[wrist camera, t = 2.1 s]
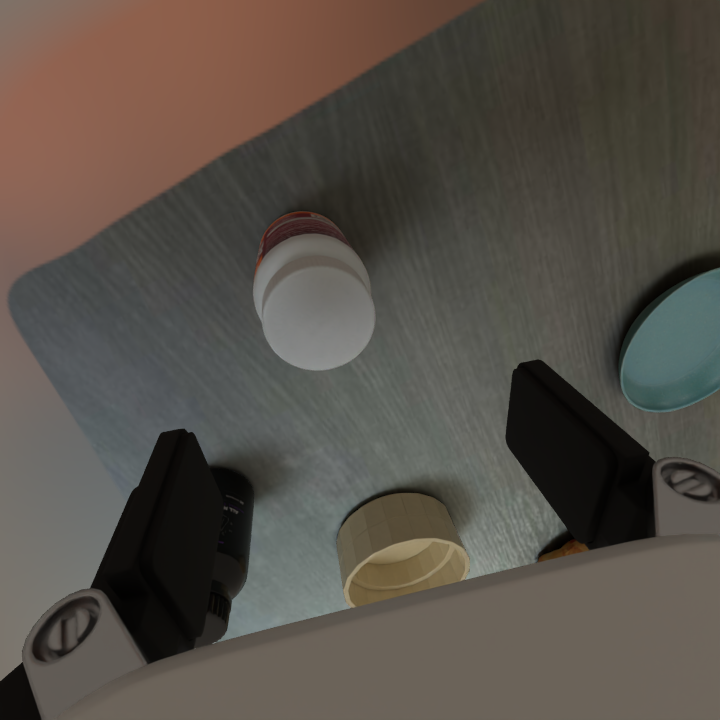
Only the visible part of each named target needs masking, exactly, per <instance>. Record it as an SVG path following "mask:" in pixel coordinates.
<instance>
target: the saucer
mask: <svg viewBox="0 0 720 720" xmlns="http://www.w3.org/2000/svg"><path fill="white" fill-rule="evenodd" d="M618 372H619V381H620V385H621V389H622V392H623V394H624V396H625V398H626V399H627V400H628V402H629V403H630V404H632V405H633V406H634V407H636V408H638V409H640V410H643V411H647V412H669V411H674V410H677V409H681V408H684V407H687V406H689V405H692V404H694V403H696V402H698V401H700V400H702V399H704V398H706V397H708V396H709V395H711V394H712V393H714V392H716V391H717V390H719V389H720V268H716V269H712V270H709V271H705V272H702V273H700V274H697V275H695V276H693V277H690V278H688V279H686V280H684V281H682V282H680V283H678V284H676V285H675V286H673V287H672V288H670V289H668V290H667V291H665V292H664V293H662V294H661V295H660V296H658V297H657V298H656V299H655V300H653V301H652V302H651V303H650V304H649V305H648V306H647V307H646V308H645V309H644V310H643V311H642V312H641V313H640V314H639V316H638V317H637V318H636V320H635V321H634V322H633V324H632V325H631V327H630V329H629V331H628V333H627V335H626V337H625V339H624V342H623V345H622V348H621V352H620V357H619V369H618Z"/></svg>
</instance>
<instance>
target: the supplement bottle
mask: <svg viewBox="0 0 720 720" xmlns="http://www.w3.org/2000/svg"><path fill="white" fill-rule="evenodd" d="M210 471H211V473H212V475H213V477H214V480H215V482H216V484H217V486H218V489H219V491H220V493H221V495H222V499H223V515H222V521H221V527H220V534H219V540H218V546H217V552H216V558H215V565H214V571H213V577H212V583H211V590H210V596H209V602H208V608H207V614H206V621H205V627H204V632H203V634H202V636H201V637H198V638H196V642H195V647H194V649H195V648H199V647H203V646H207V645H211V644H213V643H214V642H217V641H218V640H219V639H221V638H222V636H224V635H225V632H226V631H227V627H228V621H229V613H230V611H231V604H232V599H233V598H235V597H236V596H237V595H238V593H239V592H240V591H241V590H242V588H243V586H244V584H245V582H246V579H247V573H248V565H249V554H250V542H251V531H252V520H253V509H254V490H253V487H252V485H251V484H250V482H249V481H248V480H247V479H246V478H245V477H244V476H242V475H241V474H239V473H237V472H234V471H231V470H227V469H210Z"/></svg>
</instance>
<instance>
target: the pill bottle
mask: <svg viewBox="0 0 720 720" xmlns="http://www.w3.org/2000/svg"><path fill="white" fill-rule="evenodd" d="M253 298H254V304H255V308H256V311H257V314H258V316H259V318H260V320H261V321H262V326H263V331H264V334H265V337H266V339H267V341H268V343H269V345H270V346H271V348H272V349H273V351H274V352H275V353H276V354H277V355H278V356H279V357H280V358H282V359H283V360H284V361H286V362H288V363H289V364H291V365H293V366H296V367H299V368H302V369H307V370H328V369H333V368H336V367H339V366H342V365H344V364H346V363H348V362H350V361H351V360H353V359H354V358H355V357H356V356H358V355H359V354H360V353H361V352H362V350H363V349H364V348H365V347H366V345H367V344H368V342H369V340H370V338H371V336H372V334H373V330H374V326H375V307H374V303H373V300H372V297H371V286H370V280H369V276H368V273H367V270H366V268H365V266H364V265H363V263H362V260H361V259H360V258H359V256H358V255H357V254H356V252H355V251H354V250H353V248H352V247H351V246H350V244H349V243H348V241H347V239H346V238H345V236H344V235H343V233H342V232H341V231H340V229H339V228H338V227H337V226H336V225H335V224H334V223H333V222H332V221H330V220H329V219H328V218H326V217H324V216H322V215H320V214H317V213H313V212H308V211H298V212H292V213H289V214H286V215H284V216H282V217H280V218H278V219H277V220H275V221H274V222H273V223H272V224H271V225H270V226H269V227H268V229H267V230H266V232H265V233H264V235H263V237H262V240H261V243H260V246H259V251H258V256H257V263H256V268H255V276H254V285H253Z"/></svg>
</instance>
